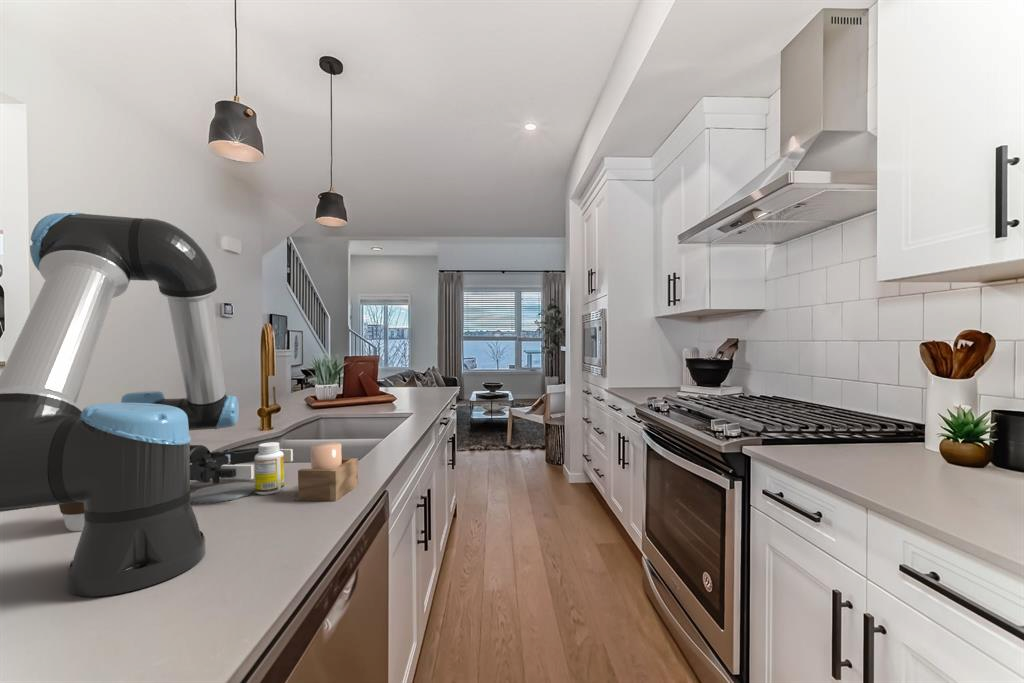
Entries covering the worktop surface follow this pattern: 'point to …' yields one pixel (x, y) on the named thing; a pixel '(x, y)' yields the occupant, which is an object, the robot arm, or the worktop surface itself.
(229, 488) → the slate coaster
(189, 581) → the worktop surface
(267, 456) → the supplement bottle
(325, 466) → the peach cylinder
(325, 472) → the wooden base
